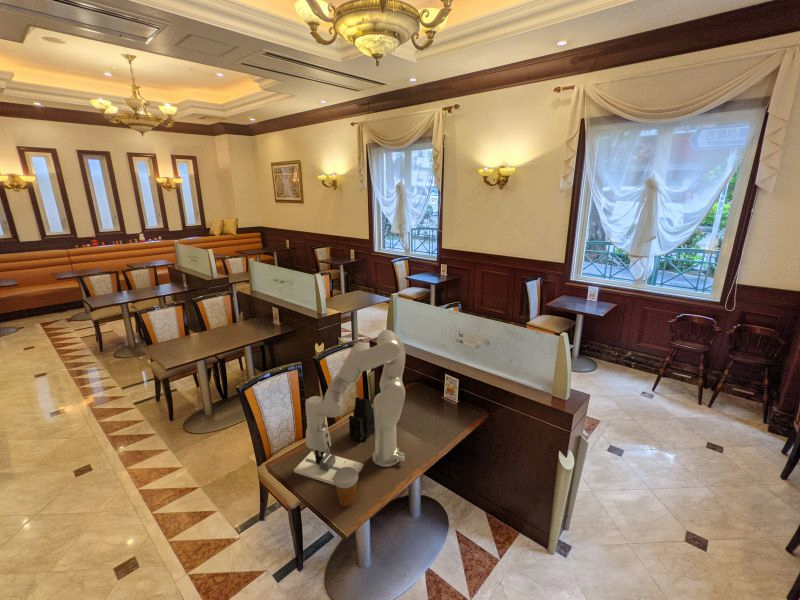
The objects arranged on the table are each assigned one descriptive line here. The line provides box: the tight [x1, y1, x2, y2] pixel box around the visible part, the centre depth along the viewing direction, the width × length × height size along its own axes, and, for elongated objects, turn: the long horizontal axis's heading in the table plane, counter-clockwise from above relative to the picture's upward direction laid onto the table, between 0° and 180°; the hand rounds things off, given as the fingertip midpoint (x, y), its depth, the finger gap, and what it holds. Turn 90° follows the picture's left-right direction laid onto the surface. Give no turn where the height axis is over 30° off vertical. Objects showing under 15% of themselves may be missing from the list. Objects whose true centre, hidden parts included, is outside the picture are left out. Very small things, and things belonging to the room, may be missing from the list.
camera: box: [348, 396, 375, 442], centre depth 180 cm, size 10×14×20 cm
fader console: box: [293, 450, 364, 486], centre depth 160 cm, size 26×14×2 cm, turn 68°
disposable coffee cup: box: [333, 467, 359, 508], centre depth 142 cm, size 10×10×12 cm
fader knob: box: [320, 452, 336, 471], centre depth 159 cm, size 4×6×4 cm, turn 158°
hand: (319, 461), depth 161 cm, fingers closed
